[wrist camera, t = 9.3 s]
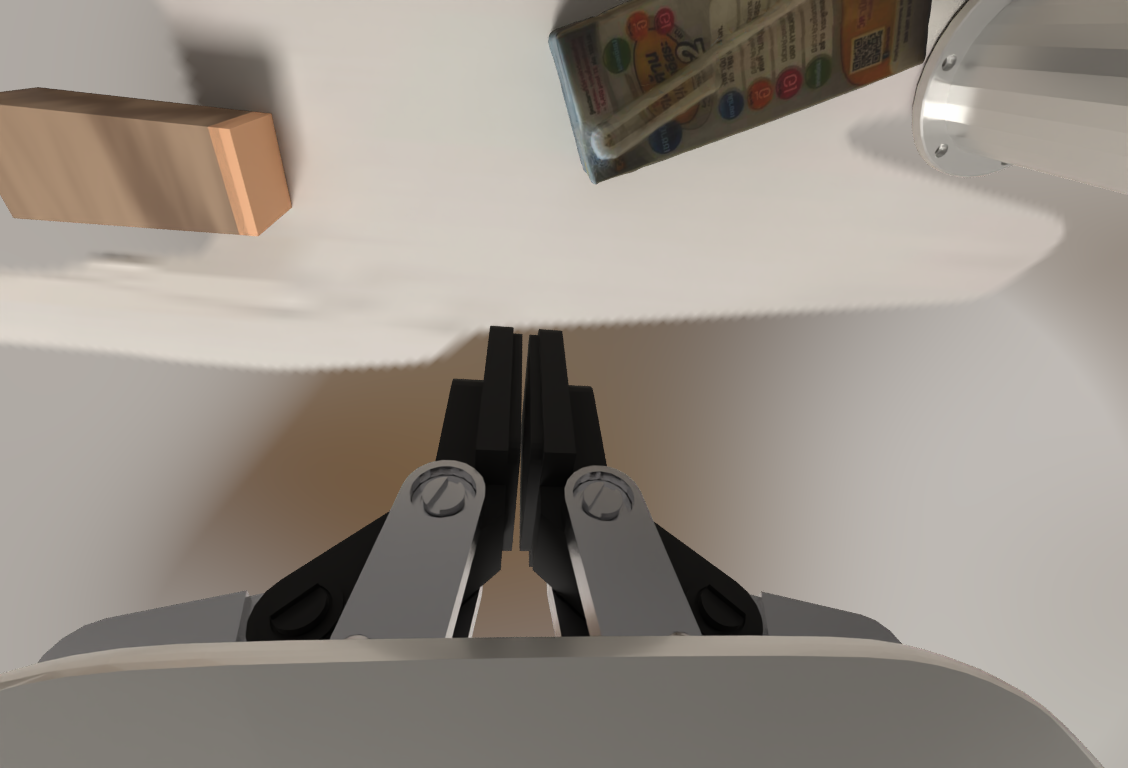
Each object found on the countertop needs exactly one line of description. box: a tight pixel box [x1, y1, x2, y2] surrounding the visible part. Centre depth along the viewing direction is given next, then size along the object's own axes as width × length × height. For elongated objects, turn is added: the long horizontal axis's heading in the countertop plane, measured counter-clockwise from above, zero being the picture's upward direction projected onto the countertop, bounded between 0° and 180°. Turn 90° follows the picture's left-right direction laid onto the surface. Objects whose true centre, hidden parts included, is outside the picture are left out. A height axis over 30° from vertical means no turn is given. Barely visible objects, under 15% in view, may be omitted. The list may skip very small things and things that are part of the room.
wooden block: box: [0, 87, 292, 236], centre depth 26 cm, size 6×6×12 cm
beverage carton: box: [548, 0, 932, 184], centre depth 26 cm, size 8×19×7 cm, turn 108°
